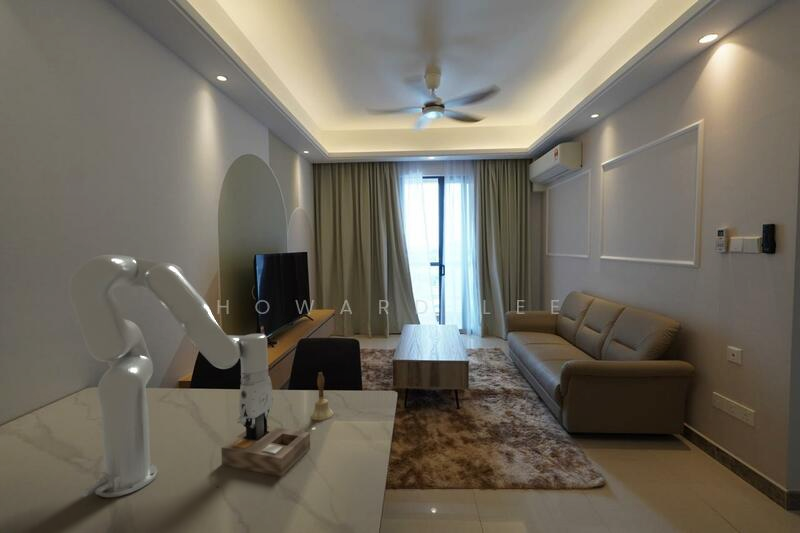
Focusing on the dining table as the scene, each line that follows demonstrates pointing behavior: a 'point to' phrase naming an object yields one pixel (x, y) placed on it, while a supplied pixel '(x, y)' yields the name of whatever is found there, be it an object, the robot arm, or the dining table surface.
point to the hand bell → (321, 403)
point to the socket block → (267, 451)
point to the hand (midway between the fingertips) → (256, 434)
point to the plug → (259, 426)
